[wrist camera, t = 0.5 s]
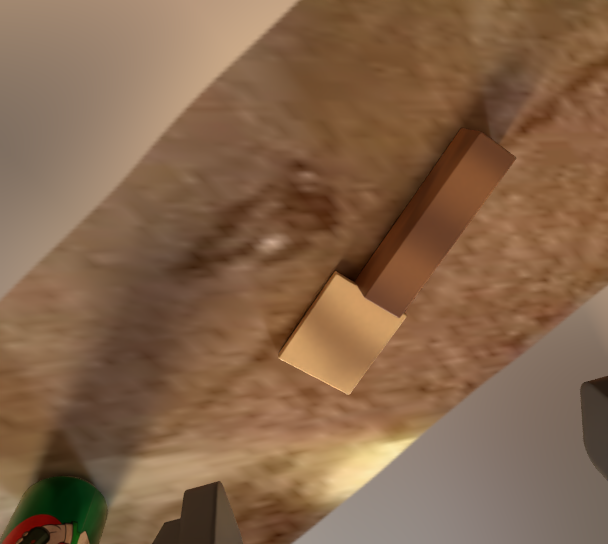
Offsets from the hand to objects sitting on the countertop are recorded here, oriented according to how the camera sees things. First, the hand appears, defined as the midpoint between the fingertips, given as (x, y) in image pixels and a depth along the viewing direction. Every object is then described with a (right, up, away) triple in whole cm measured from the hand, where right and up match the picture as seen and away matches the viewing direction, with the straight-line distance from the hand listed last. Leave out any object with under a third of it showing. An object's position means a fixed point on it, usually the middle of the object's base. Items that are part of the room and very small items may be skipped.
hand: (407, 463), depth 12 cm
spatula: (+3, +5, +19) cm, 19 cm away
